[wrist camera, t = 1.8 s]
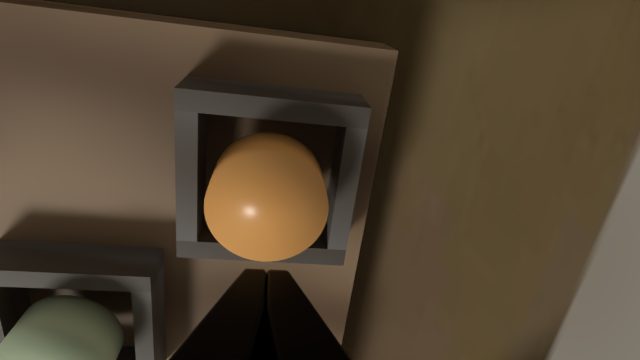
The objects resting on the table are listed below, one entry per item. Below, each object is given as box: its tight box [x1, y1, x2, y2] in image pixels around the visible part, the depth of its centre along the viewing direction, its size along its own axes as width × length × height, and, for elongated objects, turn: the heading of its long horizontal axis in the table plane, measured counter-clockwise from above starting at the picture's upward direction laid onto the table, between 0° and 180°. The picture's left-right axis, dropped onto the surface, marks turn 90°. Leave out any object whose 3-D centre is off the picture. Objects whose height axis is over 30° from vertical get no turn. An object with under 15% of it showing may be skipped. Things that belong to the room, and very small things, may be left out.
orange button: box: [204, 132, 329, 262], centre depth 12 cm, size 3×3×2 cm
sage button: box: [0, 295, 124, 360], centre depth 13 cm, size 3×3×2 cm
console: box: [0, 0, 399, 360], centre depth 16 cm, size 20×13×4 cm, turn 173°
